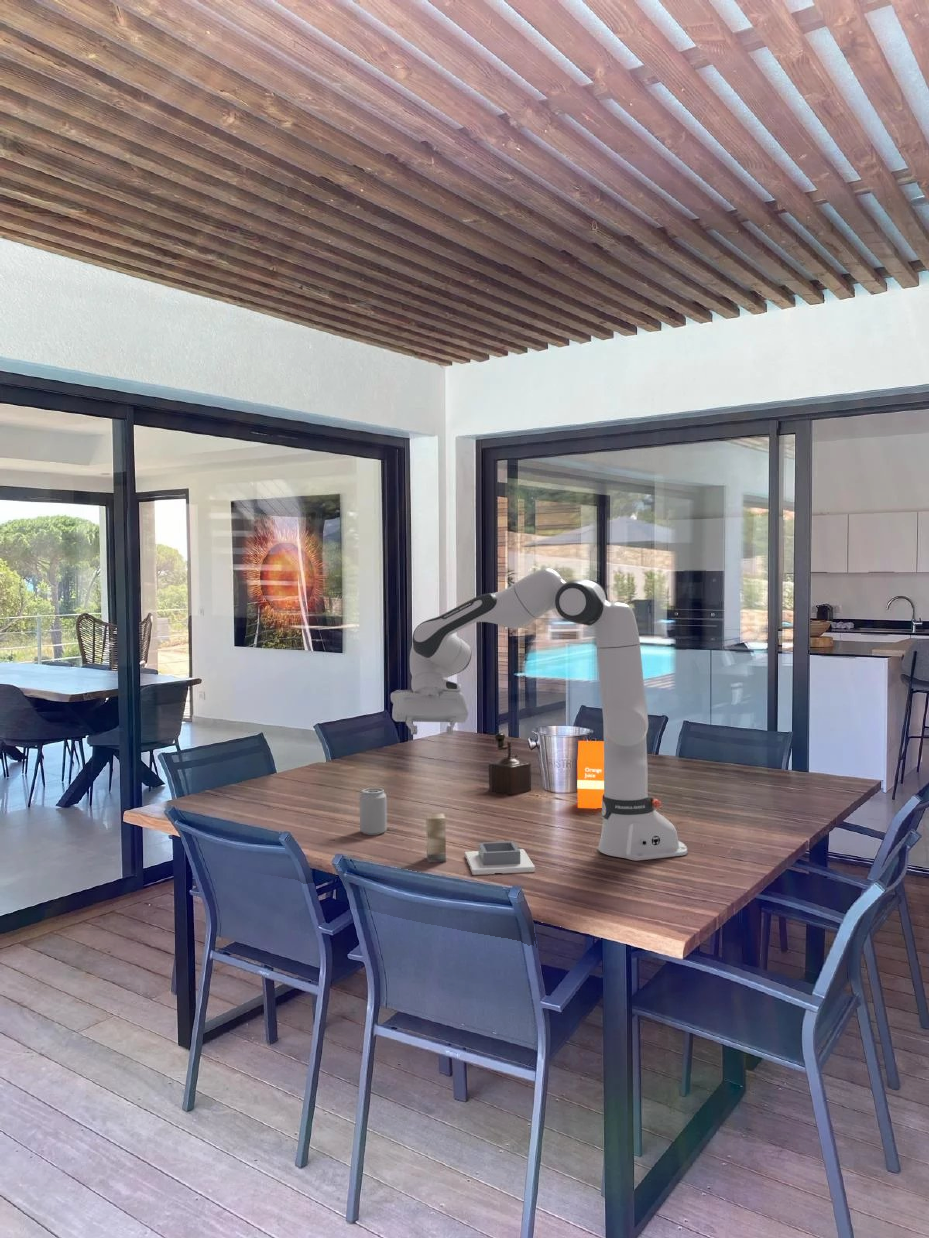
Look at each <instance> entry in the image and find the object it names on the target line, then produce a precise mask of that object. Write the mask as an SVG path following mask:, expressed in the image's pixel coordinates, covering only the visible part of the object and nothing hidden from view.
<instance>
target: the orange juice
mask: <svg viewBox="0 0 929 1238" xmlns="http://www.w3.org/2000/svg"><path fill="white" fill-rule="evenodd" d="M577 745H578V746H577V747H578V748H577V761H576V762H577V779H576V780H577V787H576V788H577V808H578V809H597V808H602V796H603V794H604V740H603V741H602V740H597V741H596V740H578V744H577Z"/></svg>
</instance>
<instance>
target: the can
mask: <svg viewBox="0 0 929 1238" xmlns="http://www.w3.org/2000/svg"><path fill="white" fill-rule="evenodd" d="M387 799H388V798H387V794H386V793H385V790H384V789H383V788H380V787H369V788H364V789H362V790H361V794H360V795H359V831H360V832H361V833H362V834H363V833H364V834H363V835H365V834H368V835H367V836H379V834H380V835H382V834H381V833H383V832H384V833H385V832H386V831H387V829H388V816H387V815H388V811H387V809H388V807H387ZM384 833H383V834H384Z"/></svg>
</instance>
